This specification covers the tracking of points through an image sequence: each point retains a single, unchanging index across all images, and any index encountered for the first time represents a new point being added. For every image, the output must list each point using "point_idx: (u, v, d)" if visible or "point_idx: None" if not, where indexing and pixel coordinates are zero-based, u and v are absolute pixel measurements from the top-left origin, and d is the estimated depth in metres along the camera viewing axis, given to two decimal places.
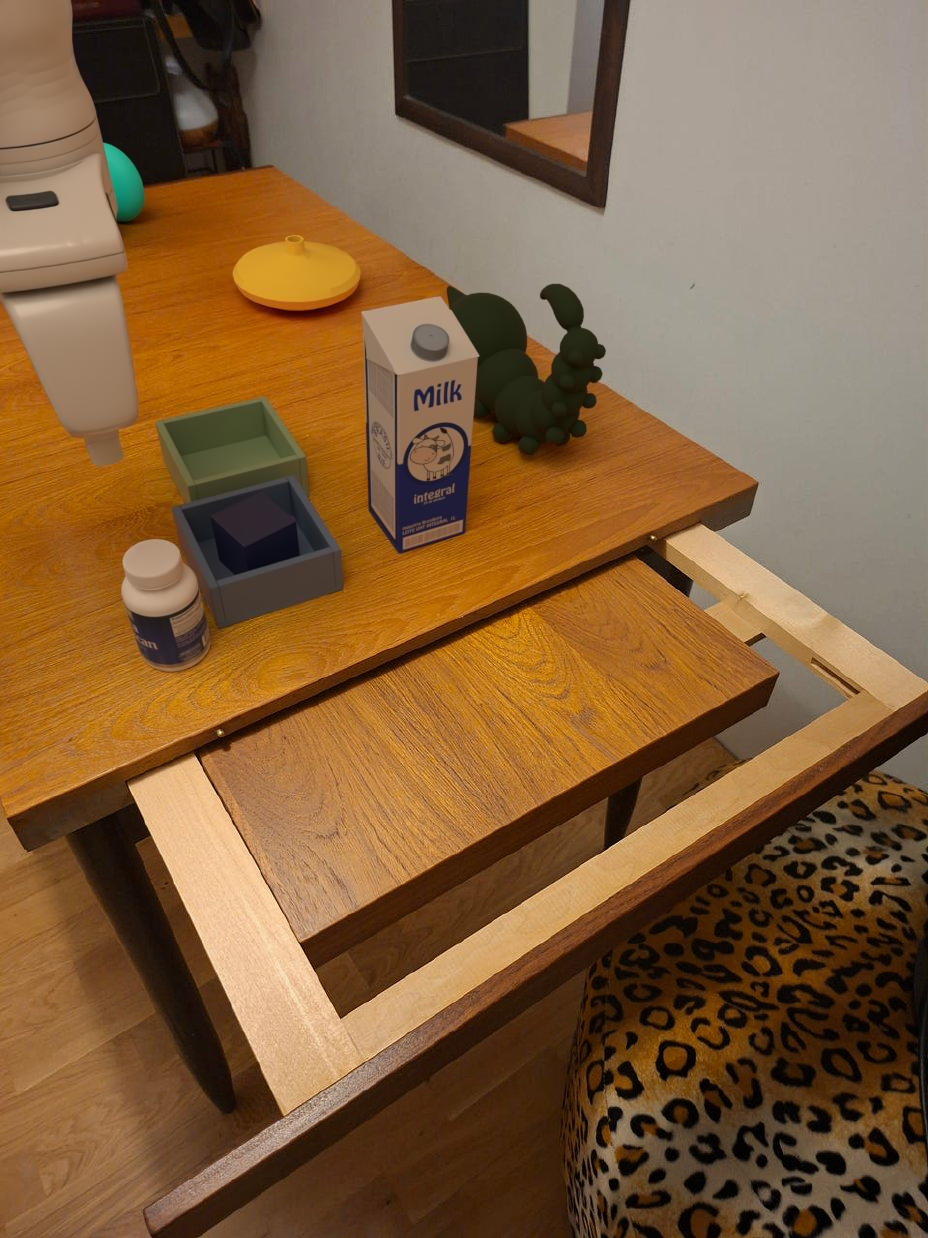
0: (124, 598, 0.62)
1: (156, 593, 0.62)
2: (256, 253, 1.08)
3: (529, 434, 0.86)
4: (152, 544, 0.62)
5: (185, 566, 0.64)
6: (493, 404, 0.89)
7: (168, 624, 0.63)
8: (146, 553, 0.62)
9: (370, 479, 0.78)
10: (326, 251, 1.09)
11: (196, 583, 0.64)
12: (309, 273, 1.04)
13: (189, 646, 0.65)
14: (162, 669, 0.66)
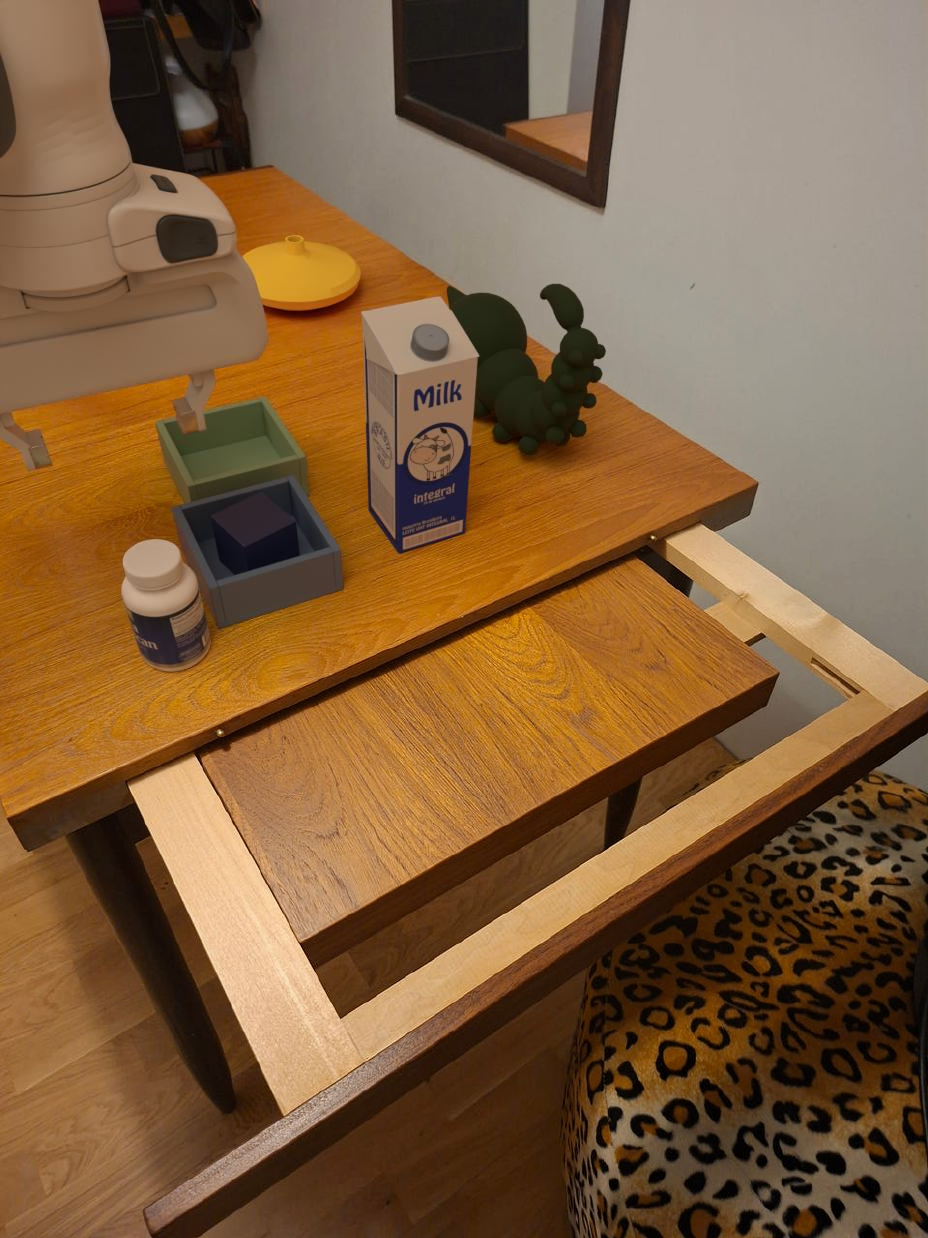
0: (124, 598, 0.62)
1: (156, 593, 0.62)
2: (256, 253, 1.08)
3: (529, 434, 0.86)
4: (152, 544, 0.62)
5: (185, 566, 0.64)
6: (493, 404, 0.89)
7: (169, 624, 0.63)
8: (146, 553, 0.62)
9: (370, 479, 0.78)
10: (326, 251, 1.09)
11: (196, 583, 0.64)
12: (309, 273, 1.04)
13: (190, 646, 0.65)
14: (162, 669, 0.66)
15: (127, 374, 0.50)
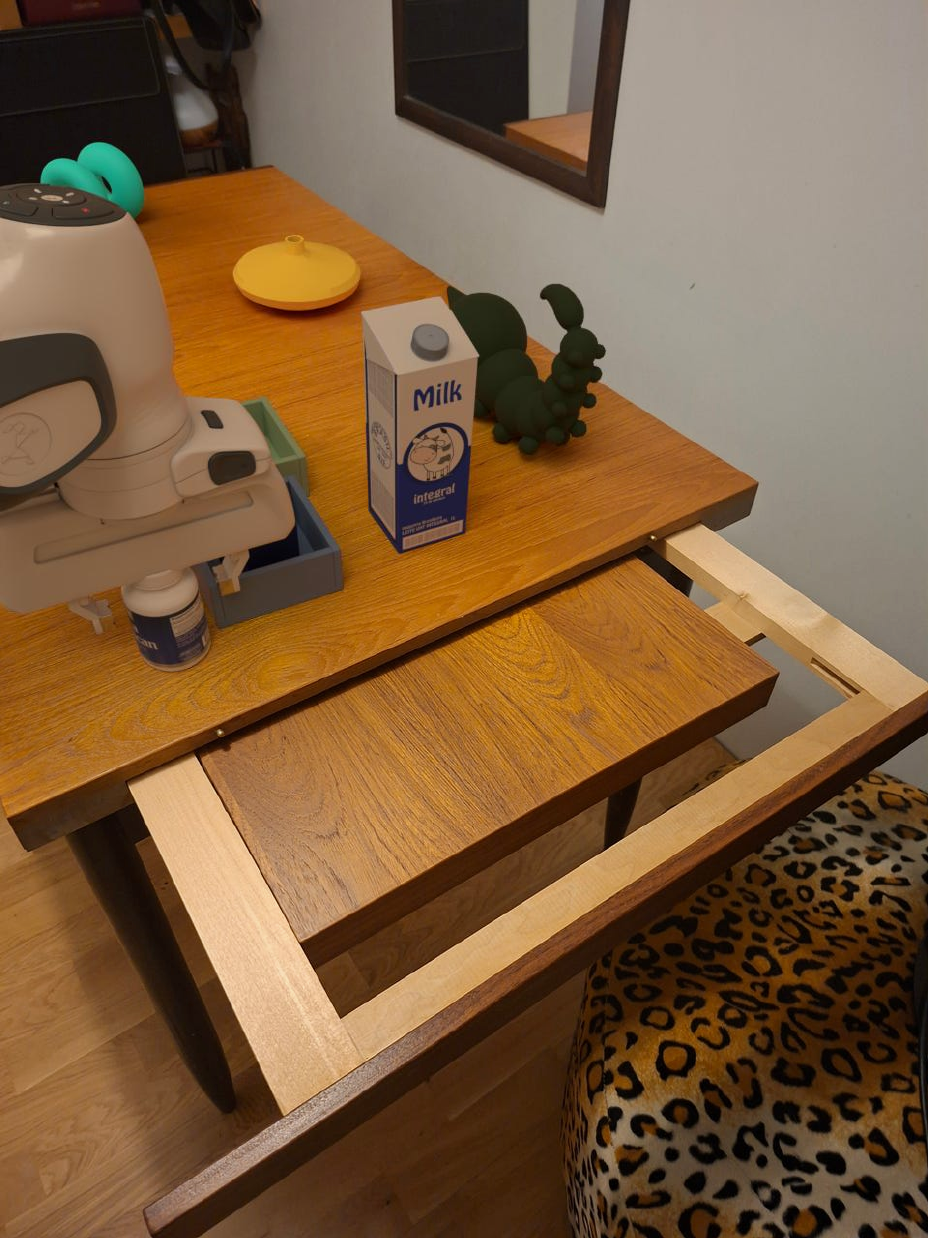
0: (124, 598, 0.62)
1: (156, 593, 0.62)
2: (256, 253, 1.08)
3: (529, 434, 0.86)
4: None
5: None
6: (493, 404, 0.89)
7: (169, 624, 0.63)
8: None
9: (370, 479, 0.78)
10: (326, 251, 1.09)
11: (196, 583, 0.64)
12: (309, 273, 1.04)
13: (189, 646, 0.65)
14: (162, 669, 0.66)
15: (179, 560, 0.60)
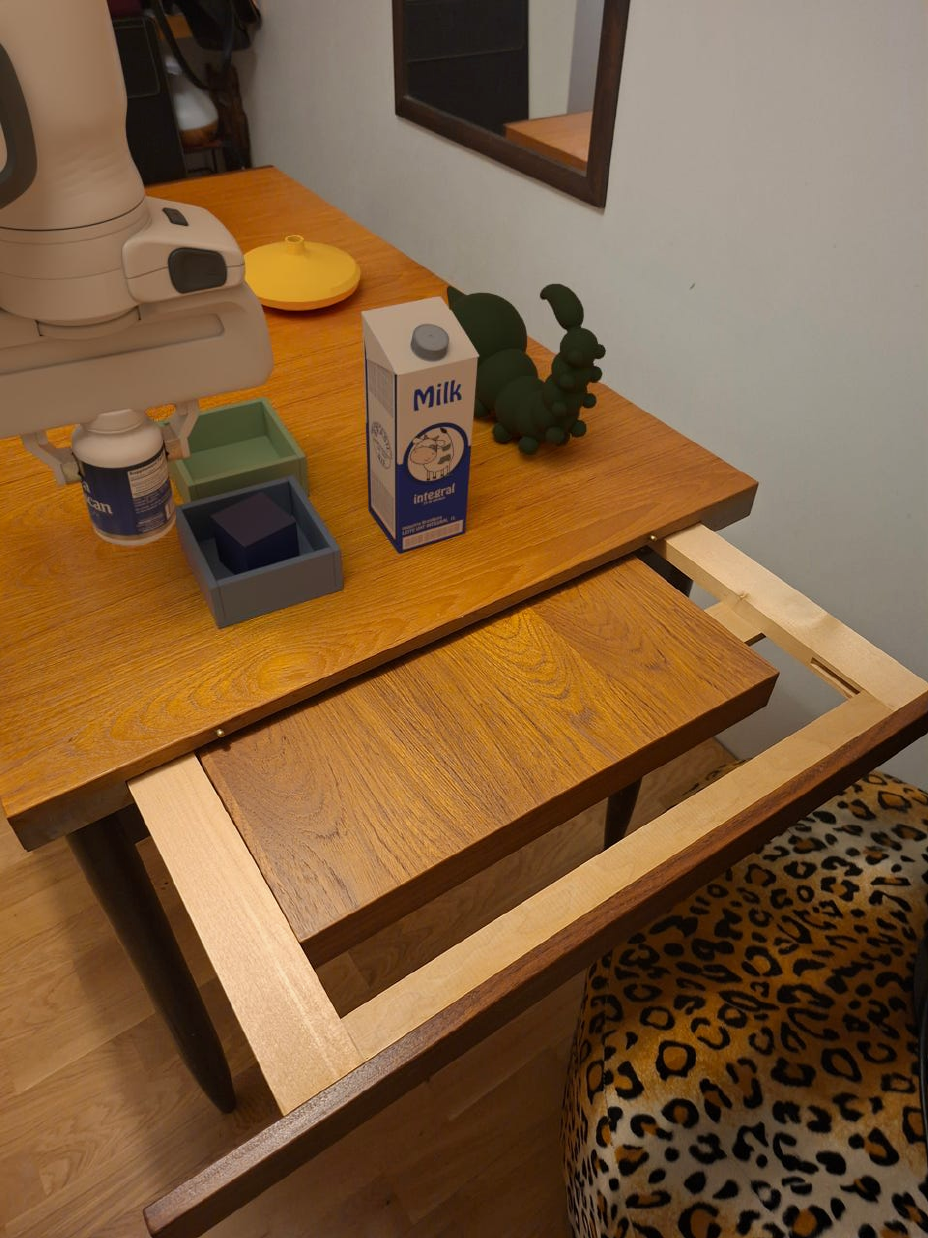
0: (74, 446, 0.53)
1: (112, 439, 0.52)
2: (256, 253, 1.08)
3: (529, 434, 0.86)
4: None
5: (148, 417, 0.55)
6: (493, 404, 0.89)
7: (126, 479, 0.53)
8: None
9: (370, 479, 0.78)
10: (326, 251, 1.09)
11: (160, 436, 0.55)
12: (309, 273, 1.04)
13: (150, 513, 0.56)
14: (117, 541, 0.57)
15: (136, 399, 0.51)
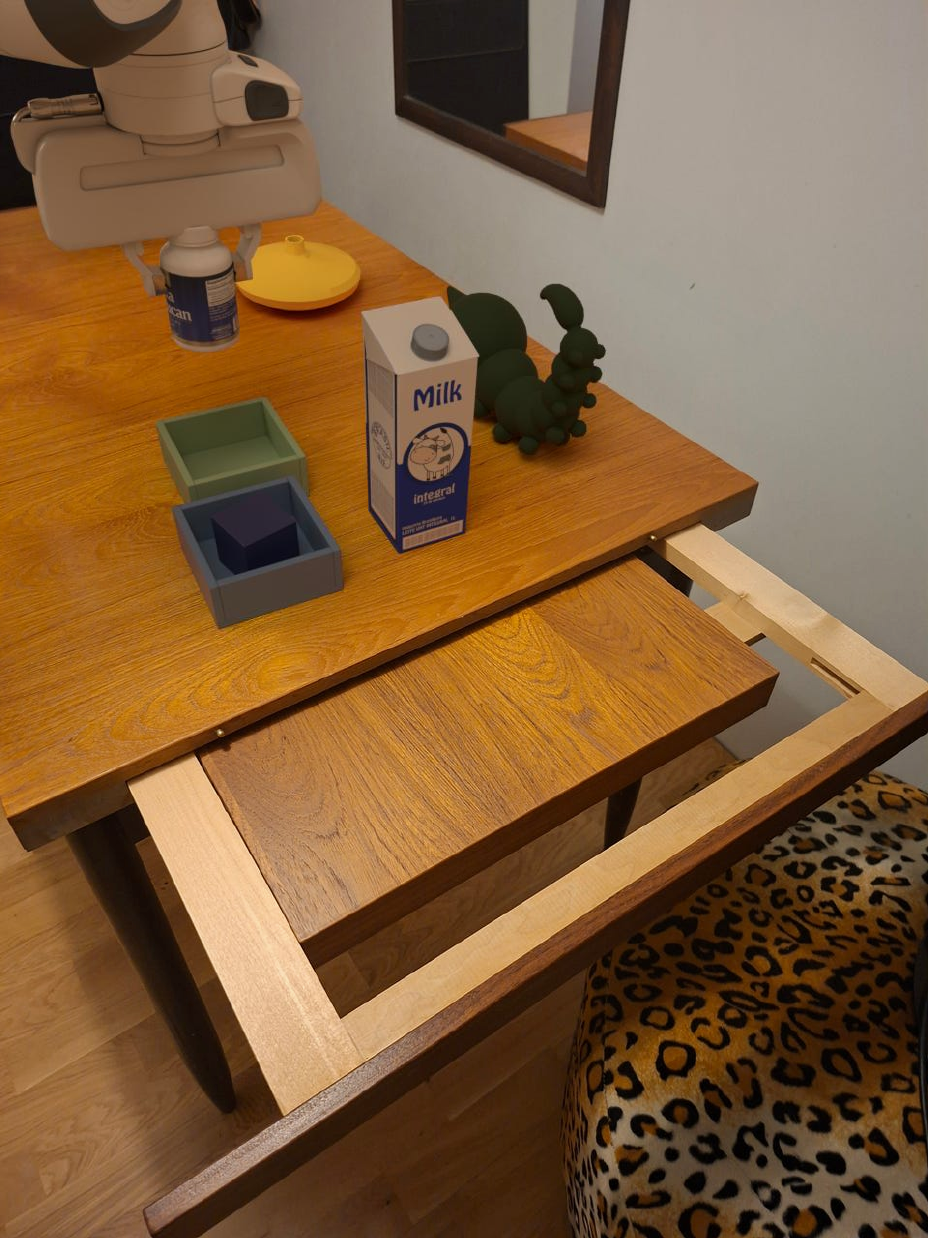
0: (162, 259, 0.65)
1: (193, 253, 0.65)
2: (256, 253, 1.08)
3: (529, 434, 0.86)
4: None
5: (220, 241, 0.68)
6: (493, 404, 0.89)
7: (204, 288, 0.66)
8: None
9: (370, 479, 0.78)
10: (326, 251, 1.09)
11: (230, 255, 0.67)
12: (309, 273, 1.04)
13: (221, 322, 0.69)
14: (194, 348, 0.69)
15: (214, 217, 0.64)
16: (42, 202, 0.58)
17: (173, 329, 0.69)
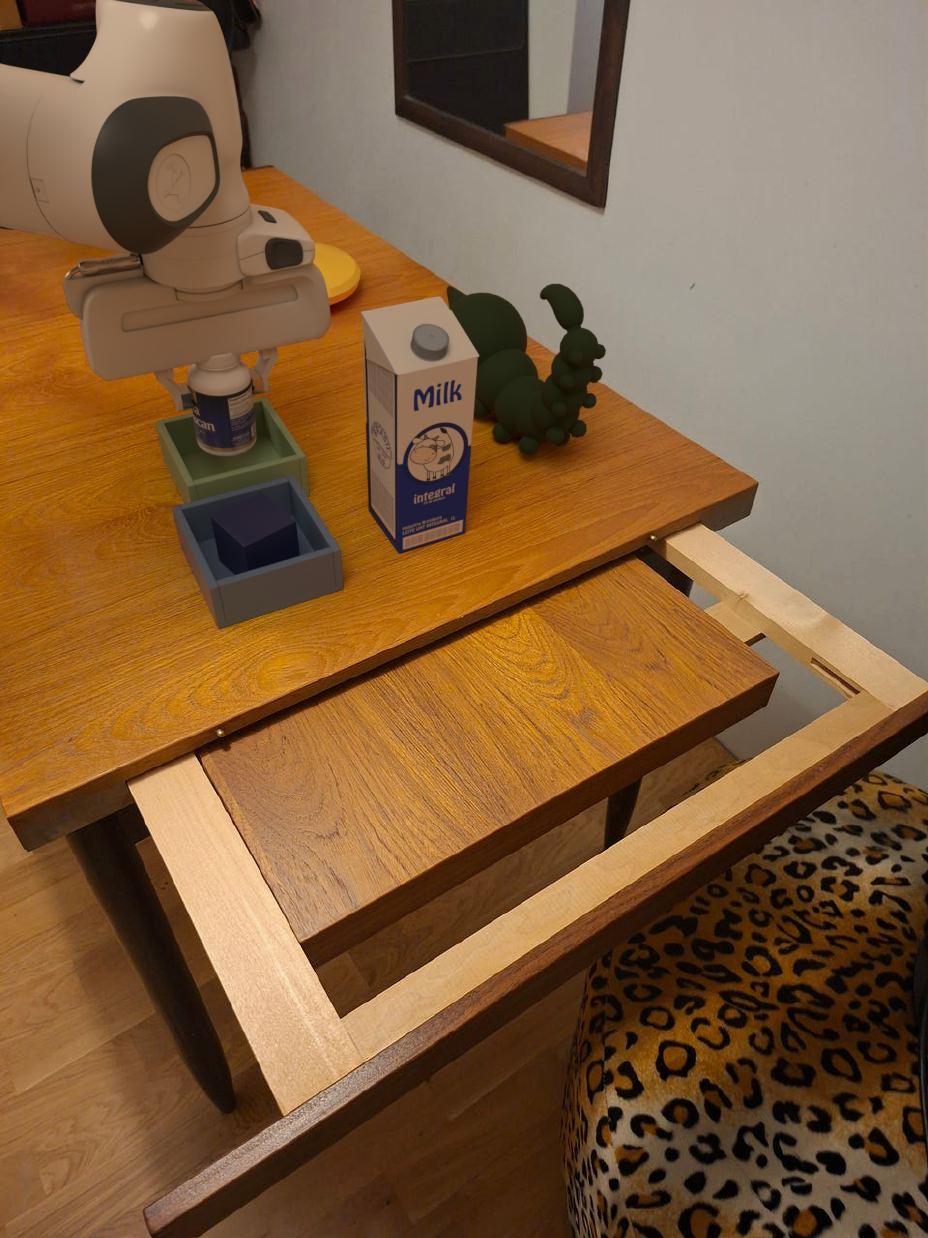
0: (190, 380, 0.74)
1: (217, 375, 0.73)
2: None
3: (529, 434, 0.86)
4: None
5: None
6: (493, 404, 0.89)
7: (226, 404, 0.75)
8: None
9: (370, 479, 0.78)
10: (326, 251, 1.09)
11: (249, 374, 0.76)
12: None
13: (241, 431, 0.77)
14: (217, 453, 0.78)
15: (236, 346, 0.72)
16: (88, 343, 0.67)
17: (198, 436, 0.78)
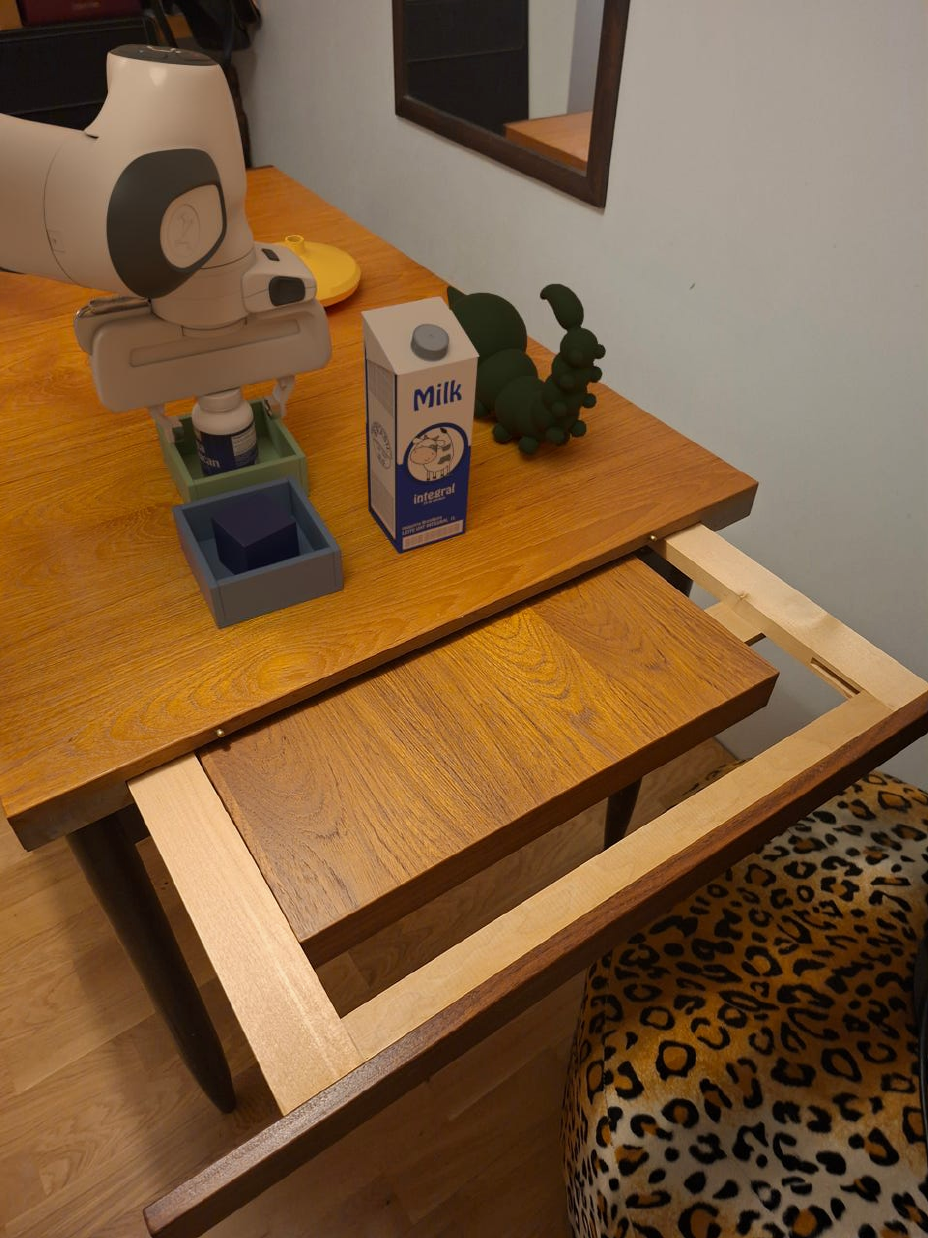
0: (194, 420, 0.77)
1: (221, 415, 0.76)
2: None
3: (529, 434, 0.86)
4: None
5: (242, 398, 0.79)
6: (493, 404, 0.89)
7: (230, 442, 0.77)
8: None
9: (370, 479, 0.78)
10: (326, 251, 1.09)
11: (252, 411, 0.78)
12: None
13: (245, 466, 0.80)
14: None
15: (240, 378, 0.75)
16: (97, 378, 0.69)
17: (204, 471, 0.81)
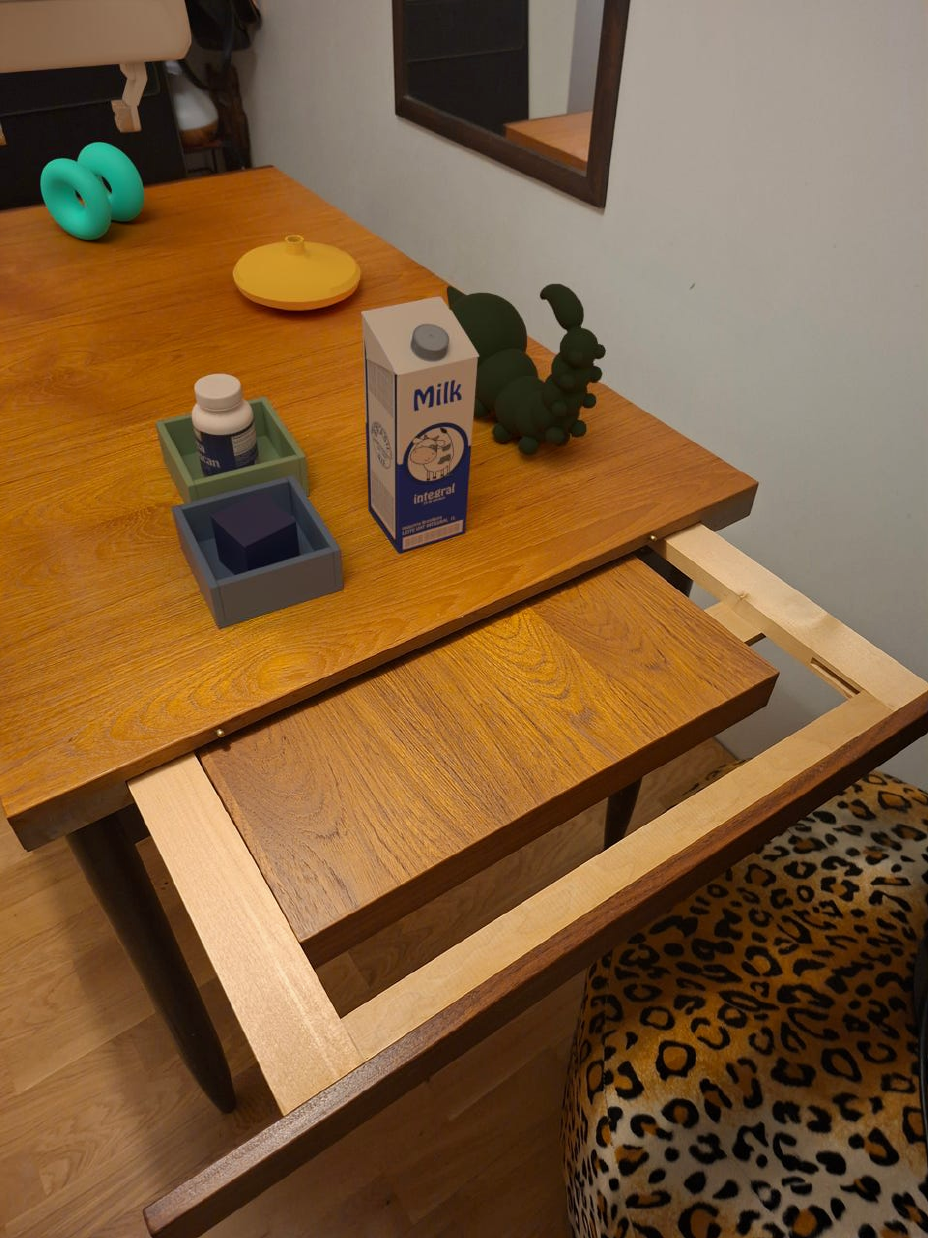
0: (194, 420, 0.77)
1: (221, 415, 0.76)
2: (256, 253, 1.08)
3: (529, 434, 0.86)
4: (217, 376, 0.77)
5: (242, 398, 0.79)
6: (493, 404, 0.89)
7: (230, 442, 0.77)
8: (213, 382, 0.76)
9: (370, 479, 0.78)
10: (326, 251, 1.09)
11: (252, 411, 0.78)
12: (309, 273, 1.04)
13: (245, 466, 0.80)
14: None
15: (67, 51, 0.59)
16: None
17: (204, 472, 0.81)
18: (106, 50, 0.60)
